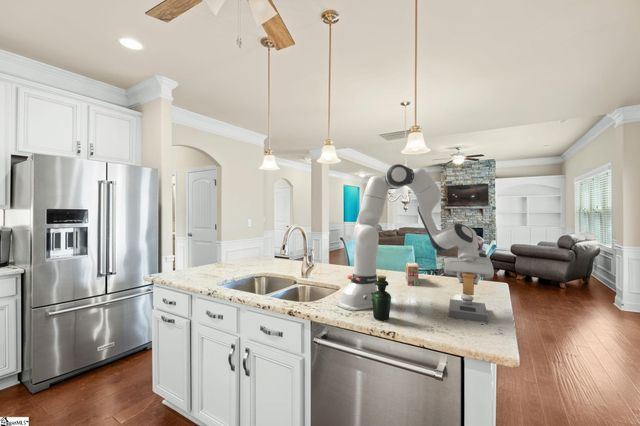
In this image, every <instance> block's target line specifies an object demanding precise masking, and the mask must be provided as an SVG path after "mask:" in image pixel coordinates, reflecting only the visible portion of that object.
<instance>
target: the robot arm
mask: <svg viewBox="0 0 640 426" xmlns="http://www.w3.org/2000/svg"><path fill="white" fill-rule="evenodd" d="M403 187H408V188H409V189H410V190H411V191H412V192H413V194H414V195H415V197H416V199H417V203H418V206H417V212H418V215H419V217H420V220H421V222H422V224H423V226H424V228H425V231H426V232H427V235H428V238H429V241H430V244H431V247H432V248H433V249H434V250H436V251H438V252H441V253H444V252H446V251H448V250H450V249H453V248H454V247H457V248H458V249H457V256H450V255H448V256H446V257H444V258H443V263H444V267H443V272H444V274H446V275H450V276H451V275H453V276H456V278H457V279H458V281H459V284H463V276H462V273H474V274H475V277H474V286H476V285H478V283H479V281H480V280H481V278H484V279H493V278H494V275H495V271H494V266H493V263H492V260H490V258H491V257H490V255H489V254H487V253H483V252H480V251H479V249H478V248H479V240H478V235H477V232H476V231H475V230H474V229H473V228H471V227H468V226H466V225H464V224H462V223H459V222H457V223H453V224H452V225H449V226H447V227H445V228H443V229H441V230H439V229H438V227H437V226H436V225H437V224H436V223H435V221H434V219H433V216H432V214H433V213H432V212H433V210H434V208H435V207H436V206H437V205H438V203H439V202H440V199H441V196H442V192H441V189H440V187H439V185H438V184H437V183H436V181H435V179H434V178H433V177H432V176H431V175H430V174H429V172H427V171H426V170H425V168H421V167H418V168H417V167H416V168H414V169H411V168H409V167H408V166H406V165H404V164H400V163H397V164H393V165H392V166H390V167H389V168H388V170H387V171H386V172H385V174H384V175H373V176H371V177H369V179H368V182H367V184H366V185H365V190H364V191H363V196H362V201H361V205H360V208H359V209H360V210H359V213H358V215H357V217H356V221H355V225H354V229H353V231H352V234H353V235H352V236H353V239H354V241H355V245H354V246H355V247H354V256H353V274H352V275H350V274H348V275H347V277H346V278H347V280H350V282H349V283H348V284H347V285H346V286H345V288H343V289H342V290H341V291H340V296H339V299H338V300H336V301H334V304H335V305H336V306H337V307H340V308H341V309H344V310H349V311H362V310H367V309H373V303H372V294H373V293H374V292H376V291H378V287H377V285H375V282H376V281H378V277H377V276H378V275H377V256H378V249H379V241H380V240H379V239H380V235H379V231H378V230H377V228H378V225H379V223H380V220H381V218H382V216H383V212H384V207H385V203H386V199H387V196H388V195H387V194H388V192H389V190H397V189H400V188H401V189H402V188H403ZM475 278H476V279H475Z"/></svg>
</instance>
